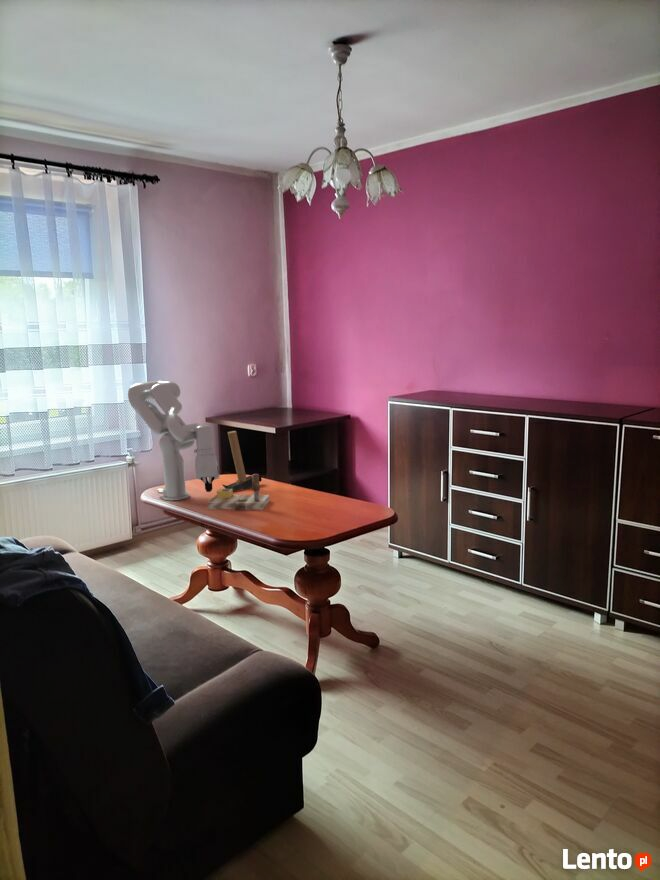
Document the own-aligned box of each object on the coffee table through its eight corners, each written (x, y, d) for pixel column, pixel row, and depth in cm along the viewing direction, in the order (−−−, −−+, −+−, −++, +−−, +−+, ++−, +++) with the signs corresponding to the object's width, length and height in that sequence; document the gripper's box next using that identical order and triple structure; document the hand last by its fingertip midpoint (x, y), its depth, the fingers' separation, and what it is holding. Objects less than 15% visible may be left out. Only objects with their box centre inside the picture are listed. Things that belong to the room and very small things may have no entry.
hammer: (229, 497, 314) (216, 439, 306) (224, 495, 318) (211, 438, 309) (262, 482, 327) (250, 426, 318) (256, 480, 330) (244, 425, 322)
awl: (252, 501, 285) (251, 475, 283) (254, 499, 288) (252, 473, 286) (259, 501, 285) (257, 475, 283) (260, 499, 288) (259, 473, 286)
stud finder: (217, 497, 293) (216, 490, 293) (220, 495, 298) (219, 488, 297) (229, 498, 292) (229, 490, 292) (232, 495, 297) (232, 488, 297)
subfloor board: (206, 510, 285) (206, 503, 284) (218, 499, 301) (217, 493, 301) (261, 510, 281) (261, 504, 281) (270, 500, 298) (270, 494, 298)
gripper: (187, 454, 290) (190, 493, 293) (219, 453, 288) (222, 492, 291) (192, 451, 297) (196, 489, 300) (223, 450, 295) (227, 488, 298)
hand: (209, 491), depth 295 cm, fingers closed
